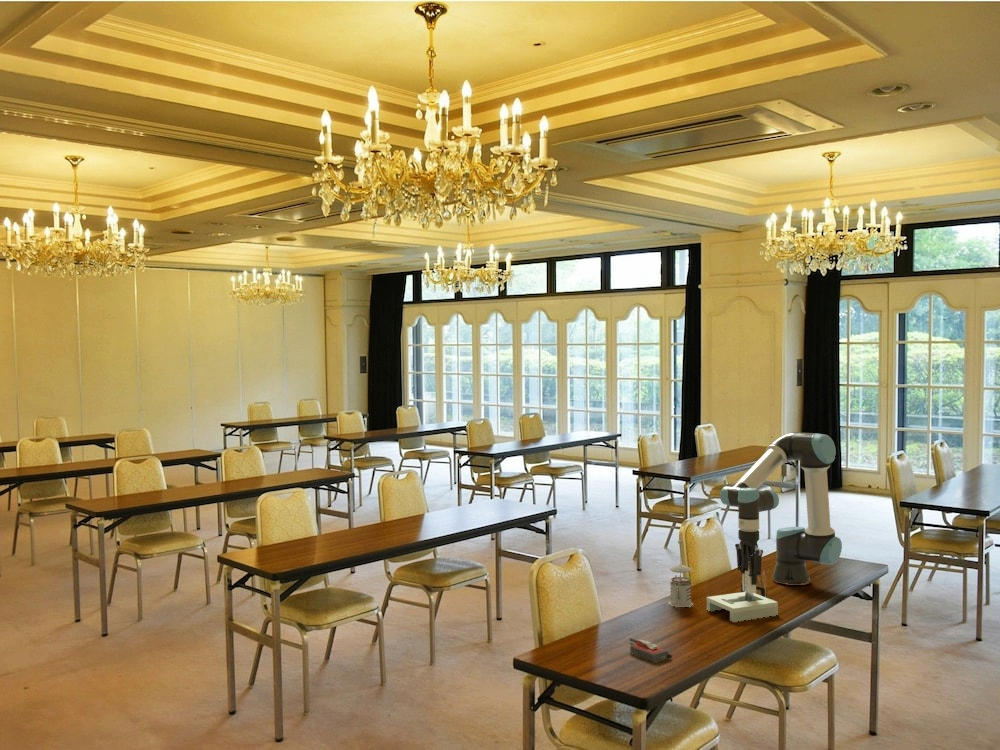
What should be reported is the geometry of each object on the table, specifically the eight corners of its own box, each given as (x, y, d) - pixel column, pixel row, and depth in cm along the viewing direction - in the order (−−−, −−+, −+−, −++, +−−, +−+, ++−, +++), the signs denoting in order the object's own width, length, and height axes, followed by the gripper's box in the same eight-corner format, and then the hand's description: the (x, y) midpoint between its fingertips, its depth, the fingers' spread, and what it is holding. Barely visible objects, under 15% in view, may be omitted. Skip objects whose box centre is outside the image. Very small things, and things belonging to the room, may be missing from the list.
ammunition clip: (767, 600, 322) (767, 570, 322) (764, 601, 320) (764, 570, 320) (743, 594, 330) (743, 565, 330) (740, 595, 328) (740, 566, 328)
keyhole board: (749, 603, 317) (749, 590, 317) (777, 615, 302) (777, 601, 302) (706, 610, 310) (706, 596, 309) (733, 622, 295) (733, 608, 295)
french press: (696, 602, 320) (695, 538, 320) (689, 610, 310) (689, 544, 309) (671, 599, 324) (670, 536, 324) (664, 607, 314) (663, 542, 313)
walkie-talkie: (677, 659, 259) (632, 642, 276) (676, 645, 259) (632, 629, 276) (657, 665, 254) (613, 647, 271) (657, 651, 254) (613, 634, 271)
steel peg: (750, 607, 311) (750, 568, 310) (760, 611, 306) (759, 571, 305) (738, 609, 309) (738, 569, 308) (748, 613, 303) (747, 573, 303)
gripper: (727, 526, 313) (727, 587, 313) (754, 534, 298) (755, 598, 298) (743, 524, 316) (743, 585, 316) (771, 532, 301) (771, 596, 301)
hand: (749, 591), depth 307 cm, fingers closed on steel peg, 3 cm apart
